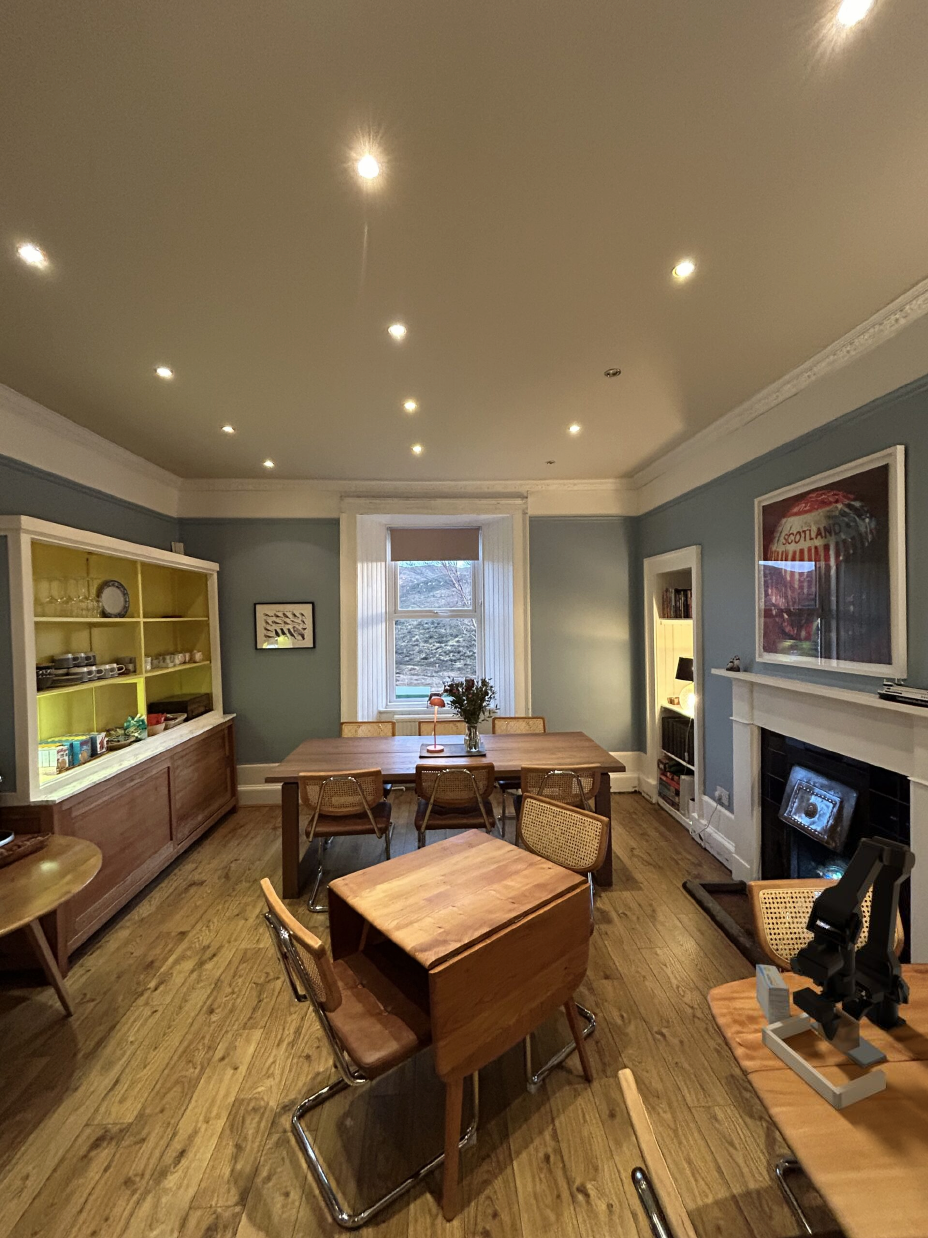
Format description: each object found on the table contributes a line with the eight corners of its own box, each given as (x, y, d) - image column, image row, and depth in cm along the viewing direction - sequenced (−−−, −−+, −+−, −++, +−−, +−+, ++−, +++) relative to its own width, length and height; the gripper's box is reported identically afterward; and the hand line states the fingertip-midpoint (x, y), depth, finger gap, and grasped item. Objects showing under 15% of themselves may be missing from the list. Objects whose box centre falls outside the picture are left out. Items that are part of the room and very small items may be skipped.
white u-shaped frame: (806, 1025, 113) (806, 1012, 113) (885, 1088, 98) (885, 1073, 98) (761, 1041, 109) (761, 1028, 109) (837, 1110, 94) (837, 1094, 94)
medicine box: (790, 1029, 113) (790, 990, 112) (768, 1026, 113) (768, 987, 113) (776, 1002, 120) (776, 965, 120) (755, 999, 121) (755, 963, 121)
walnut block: (834, 1028, 109) (834, 1004, 108) (859, 1046, 104) (859, 1022, 104) (817, 1034, 107) (817, 1011, 107) (842, 1054, 102) (841, 1029, 102)
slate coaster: (832, 1018, 115) (832, 1015, 115) (886, 1058, 105) (886, 1055, 105) (810, 1026, 113) (810, 1023, 113) (862, 1068, 103) (862, 1065, 103)
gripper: (831, 928, 116) (831, 996, 116) (768, 947, 110) (769, 1018, 110) (885, 959, 105) (885, 1034, 105) (819, 982, 99) (820, 1061, 99)
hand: (838, 1035), depth 105 cm, fingers closed on walnut block, 5 cm apart
